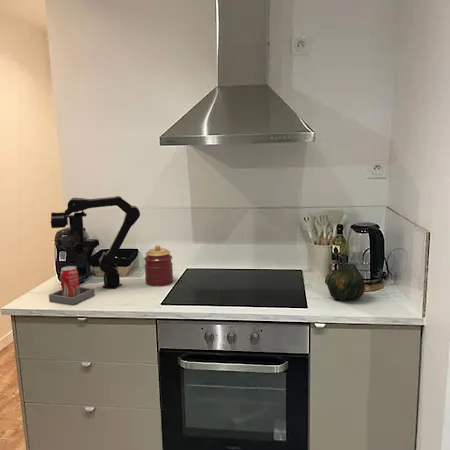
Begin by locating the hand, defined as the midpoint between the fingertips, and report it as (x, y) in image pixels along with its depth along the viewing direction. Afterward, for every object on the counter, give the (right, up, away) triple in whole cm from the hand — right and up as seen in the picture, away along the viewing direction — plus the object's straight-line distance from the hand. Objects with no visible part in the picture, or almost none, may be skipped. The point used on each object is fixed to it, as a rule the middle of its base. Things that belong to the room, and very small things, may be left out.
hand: (79, 261), depth 211 cm
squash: (+114, -14, -17) cm, 116 cm away
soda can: (0, -15, -9) cm, 18 cm away
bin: (0, -15, -9) cm, 18 cm away
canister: (+34, -11, +10) cm, 37 cm away
